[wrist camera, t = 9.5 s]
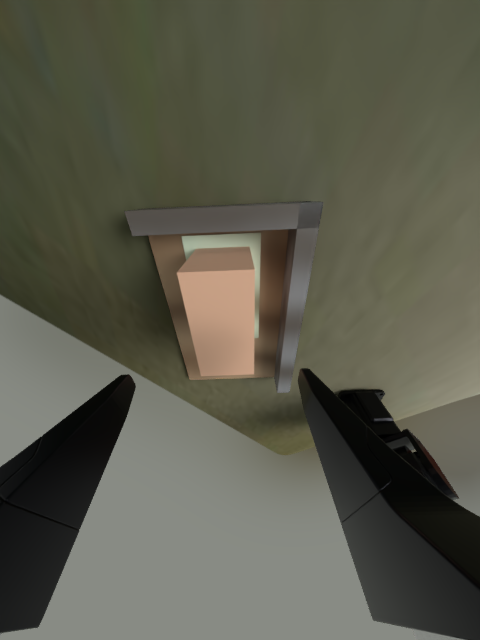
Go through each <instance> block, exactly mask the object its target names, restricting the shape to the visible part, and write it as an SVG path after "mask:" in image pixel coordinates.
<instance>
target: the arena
mask: <svg viewBox="0 0 480 640" xmlns="http://www.w3.org/2000/svg"><path fill="white" fill-rule="evenodd" d="M322 207H323V202H311V201H306V202H284V203H262V204H240V205H218V206H196V207H174V208H152V209H138V210H130V211H124V212H125V215H126V218H127V221H128V224H129V227H130V230H131V233H132V236H143V235H148V237H149V241H150V244H151V248H152V251H153V255H154V258H155V261H156V265H157V268H158V272H159V275H160V279H161V282H162V286H163V289H164V292H165V296H166V299H167V303H168V306H169V310H170V313H171V317H172V320H173V324H174V327H175V330H176V334H177V337H178V341H179V344H180V348H181V351H182V355H183V358H184V361H185V365H186V368H187V372H188V375H189V379H190V380H202V379H231V378H261V377H274V379H275V384H276V388H277V393H282V392H290V386H291V380H292V375H293V369H294V364H295V358H296V353H297V347H298V341H299V336H300V330H301V325H302V319H303V313H304V308H305V302H306V297H307V291H308V286H309V280H310V274H311V269H312V263H313V258H314V252H315V246H316V241H317V235H318V230H319V224H320V218H321V213H322ZM247 246H249V247H250V251H251V255H252V260H253V264H254V268H255V322H254V374H252V375H222V376H201V374H200V370H199V366H198V361H197V357H196V353H195V349H194V344H193V340H192V336H191V331H190V327H189V323H188V319H187V314H186V310H185V306H184V301H183V297H182V293H181V289H180V284H179V280H178V276H177V272H178V270H179V269H180V268H181V267H182V266H183V264H184V263H185V262H186V261H187V259H188V258H189V257H190V256H191V255H192V253H193V252H194V251H195V250H196V249H200V248H224V247H247Z"/></svg>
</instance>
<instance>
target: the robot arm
mask: <svg viewBox="0 0 480 640" xmlns="http://www.w3.org/2000/svg"><path fill="white" fill-rule="evenodd" d="M298 384H299V389H300V393H301V398H302V403H303V408H304V412H305V415H306V418H307V421H308V424H309V427H310V430H311V433H312V437H313V440H314V443H315V446H316V449H317V452H318V455H319V458H320V461H321V464H322V467H323V470H324V473H325V476H326V479H327V482H328V485H329V488H330V491H331V494H332V497H333V500H334V503H335V506H336V509H337V513H338V516H339V519H340V522H341V525H342V528H343V531H344V534H345V537H346V540H347V543H348V546H349V549H350V552H351V555H352V558H353V562H354V564H355V568H356V571H357V574H358V577H359V580H360V582H361V586H362V589H363V592H364V595H365V598H366V601H367V604H368V607H369V610H370V613H371V616H372V618H373V620H374V621H377V622H383V623H387V624H392V625H397V626H401V627H406V628H411V629H412V631H413V633H414V636H415V638H416V640H480V517H479V516H477V515H475V514H474V513H472V512H470V511H468V510H466V509H465V508H464V507H462V506H460V505H459V504H458V503H456V502H454V501H453V500H455V499H459V497H458V495H457V494H456V492H455V491H454V489H453V487H452V486H451V484H450V483H449V482H448V480H447V478H446V477H445V475H444V474H443V472H442V471H441V469H440V467H439V466H438V464H437V463H436V462H435V460H434V459H433V457H432V456H431V455H430V453H429V452H428V451H427V450H426V448H425V447H424V446H423V444H422V443H421V442H420V440H419V439H417V438H416V437H415V436H414V435H413V434H412V433H411V432H410V431H409V430H408V429H405V430H403V431H402V432H401V431H400V429H399V428H398V427H397V426H396V424H395V422H394V421H393V418H392V416H391V415H390V413H389V412H388V411H387V409H386V408H385V406H384V405H383V403H382V402H381V399H382V398H383V396H384V395H385V393H384V391H383V390H367V391H342V392H340V394H339V396H338V397H337V396H336V395H335V394H334V393H333V392H332V391H331V390H330V389H329V388H328V387H327V386H326V385H325V384H324V383H323V382H322V381H321V380H320V379H319V378H318V377H317V376H316V375H315V374H314V373H313V372H312V371H311V370H310V369H308V368H303V369H300V372H299V377H298ZM135 387H136V386H135V383H134V381H133V379H132V377H131V376H130V375H121V376H119V377H118V378H116V379H115V380H114V381H112V382H111V383H110V384H109V385H107V386H106V387H105V388H103V389H102V390H101V391H100V392H98V393H97V394H96V395H94V396H93V397H92V398H91V399H89V400H88V401H87V402H85V403H84V404H83V405H81V406H80V407H79V408H78V409H76V410H75V411H74V412H72V413H71V414H70V415H68V416H67V417H66V418H65V419H63V420H62V421H61V422H60V423H58V424H57V425H55V426H54V427H53V428H52V429H50V430H49V431H48V432H46V433H45V434H44V435H43V436H42V437H40V438H39V439H37V440H36V441H35V442H33V443H32V444H31V445H30V446H28V447H27V448H26V449H24V450H23V451H22V452H20V453H19V454H18V455H16V456H15V457H14V458H12V459H11V460H9V461H8V462H7V463H5V464H4V465H2V466H1V467H0V635H1V634H2V633H4V632H11V631H18V630H24V629H31V628H38V627H39V625H40V623H41V620H42V618H43V616H44V614H45V611H46V609H47V607H48V604H49V602H50V600H51V597H52V595H53V592H54V590H55V588H56V585H57V583H58V580H59V578H60V576H61V573H62V571H63V569H64V566H65V563H66V561H67V559H68V557H69V554H70V552H71V549H72V547H73V545H74V542H75V540H76V537H77V535H78V533H79V529H80V527H81V525H82V522H83V520H84V518H85V516H86V513H87V511H88V508H89V506H90V504H91V501H92V499H93V496H94V494H95V492H96V489H97V487H98V484H99V482H100V480H101V477H102V475H103V472H104V470H105V468H106V465H107V463H108V460H109V458H110V456H111V453H112V451H113V448H114V446H115V443H116V441H117V439H118V436H119V434H120V432H121V429H122V427H123V424H124V422H125V419H126V417H127V414H128V411H129V407H130V404H131V401H132V398H133V394H134V391H135ZM414 449H415V450H416V451H417V452H413V453H412V452H411V450H414Z"/></svg>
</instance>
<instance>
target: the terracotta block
mask: <svg viewBox="0 0 480 640" xmlns="http://www.w3.org/2000/svg"><path fill="white" fill-rule="evenodd" d="M177 276H178V280H179V284H180V289H181V293H182V297H183V301H184V306H185V310H186V314H187V319H188V323H189V327H190V331H191V336H192V340H193V344H194V349H195V353H196V357H197V361H198V366H199V370H200V374H201V376H222V375H252V374H254V322H255V268H254V264H253V260H252V255H251V251H250V247H249V246H247V247H224V248H200V249H196V250H195V251H194V252H193V253H192V255H191V256H190V257H189V258H188V259H187V261H186V262H185V263H184V264H183V266H182V267H181V268H180V269H179V270H178V272H177Z"/></svg>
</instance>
